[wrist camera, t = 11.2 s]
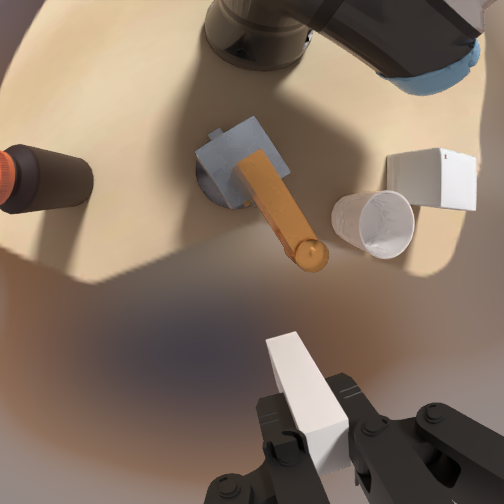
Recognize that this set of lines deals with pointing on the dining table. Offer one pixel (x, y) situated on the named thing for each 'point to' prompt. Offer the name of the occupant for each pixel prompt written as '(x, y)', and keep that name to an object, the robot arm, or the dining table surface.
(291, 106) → the dining table surface
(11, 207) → the bottle
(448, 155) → the supplement box
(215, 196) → the dark grey cylinder
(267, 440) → the robot arm
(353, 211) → the white cup
